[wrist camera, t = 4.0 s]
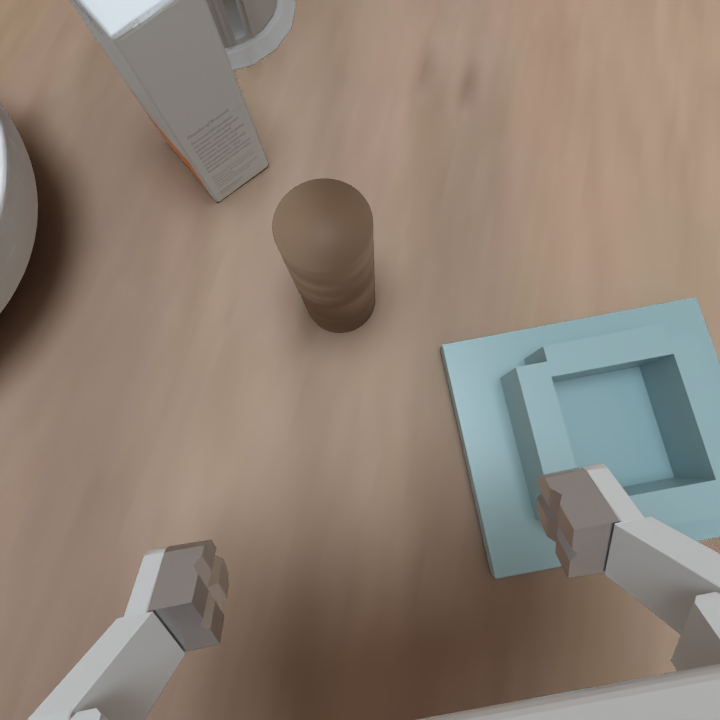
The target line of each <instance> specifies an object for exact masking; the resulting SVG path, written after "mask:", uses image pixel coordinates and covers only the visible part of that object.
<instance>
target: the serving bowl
mask: <svg viewBox="0 0 720 720" xmlns="http://www.w3.org/2000/svg"><path fill="white" fill-rule="evenodd" d="M37 220H38V200H37V188H36V182H35V176H34V172H33V168H32V165H31V161H30V158H29V155H28V152H27V150H26V148H25V145H24V143H23V141H22V139H21V136H20V134H19V132H18V130H17V129H16V127H15V125H14V123H13V122H12V120H11V118H10V116H9V115H8V113H7V112H6V110H5V109H4V107H3V106H2V105H1V103H0V313H1V312H2V310H3V309H4V308H5V306H6V305H7V304H8V302H9V300H10V299H11V297H12V296H13V294H14V292H15V290H16V289H17V287H18V285H19V283H20V281H21V279H22V277H23V275H24V273H25V270H26V267H27V265H28V262H29V259H30V256H31V253H32V249H33V245H34V241H35V235H36V229H37Z"/></svg>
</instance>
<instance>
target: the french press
mask: <svg viewBox="0 0 720 720" xmlns="http://www.w3.org/2000/svg"><path fill="white" fill-rule="evenodd" d="M206 2H207V5H208V7H209V10H210V13H211V15H212V17H213V20H214V23H215V25H216V28H217V30H218V33H219V36H220V38H221V41H222V43H223V46H224V48H225V51H226V54H227V56H228V59H229V61H230V64H231V67H232V70H235V69H239V68H243V67H247V66H251V65H253V64H255V63H256V62H258V61H259V60H261V59H262V58H264V57H265V56H267V55H268V54H270V53H271V52H273V51H274V50H276V49H277V47H278V46H279V45H280V43H281V42H282V40H283V39H284V38H285V36H286V35H287V33H288V32H289V31H290V29H291V27H292V22H293V17H294V12H295V7H296V3H295V0H206Z"/></svg>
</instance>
